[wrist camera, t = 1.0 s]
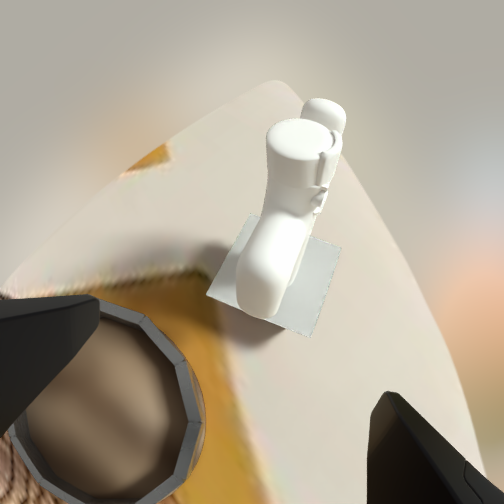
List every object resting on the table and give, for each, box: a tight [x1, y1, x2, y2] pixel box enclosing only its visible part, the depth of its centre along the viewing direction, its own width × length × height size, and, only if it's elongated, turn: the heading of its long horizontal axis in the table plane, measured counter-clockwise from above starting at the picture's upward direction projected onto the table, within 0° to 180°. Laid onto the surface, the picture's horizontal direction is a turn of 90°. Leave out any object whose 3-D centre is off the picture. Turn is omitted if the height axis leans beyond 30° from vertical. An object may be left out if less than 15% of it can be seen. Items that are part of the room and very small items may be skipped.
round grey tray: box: [8, 299, 205, 504], centre depth 17 cm, size 16×16×2 cm
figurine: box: [206, 98, 346, 338], centre depth 18 cm, size 7×9×15 cm
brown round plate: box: [26, 318, 206, 502], centre depth 18 cm, size 16×16×1 cm
